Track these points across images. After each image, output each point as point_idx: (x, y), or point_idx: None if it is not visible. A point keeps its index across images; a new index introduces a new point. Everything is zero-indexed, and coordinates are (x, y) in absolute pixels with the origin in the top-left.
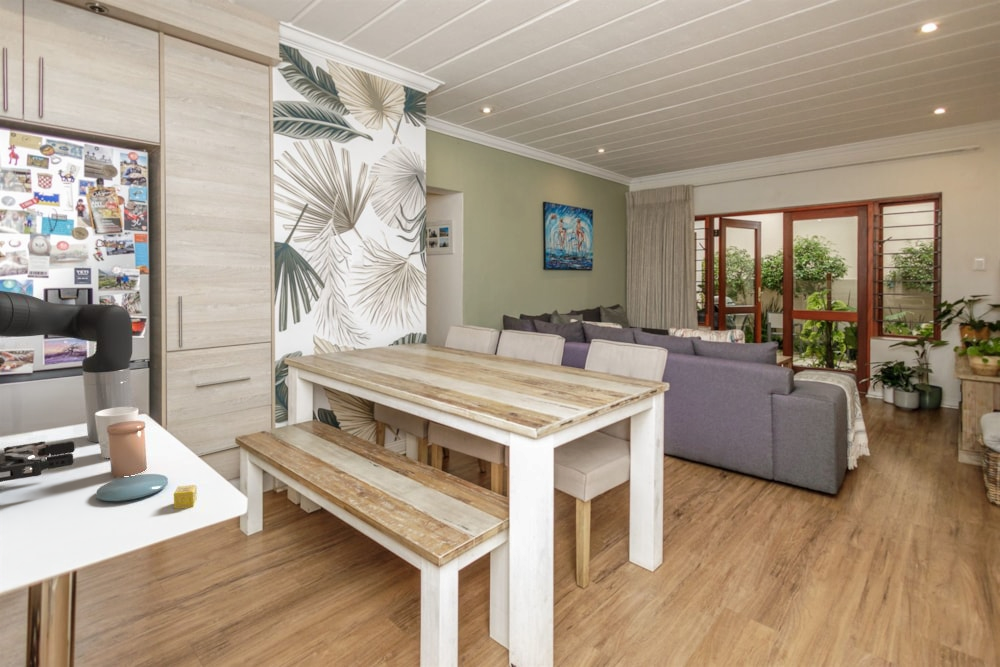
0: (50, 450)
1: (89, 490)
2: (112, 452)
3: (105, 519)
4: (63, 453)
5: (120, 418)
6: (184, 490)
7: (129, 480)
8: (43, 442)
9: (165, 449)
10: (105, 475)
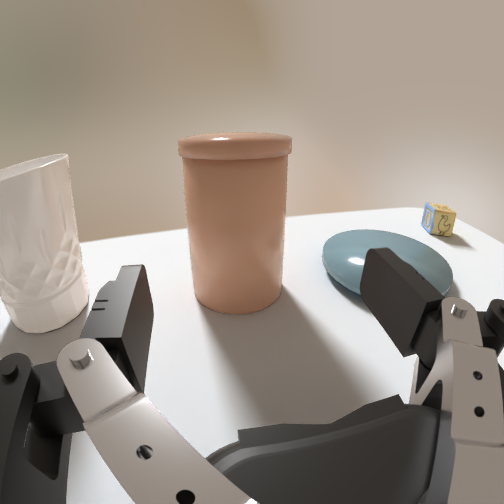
0: (131, 366)
1: (365, 337)
2: (270, 230)
3: (495, 283)
4: (147, 343)
5: (66, 170)
6: (445, 208)
7: (359, 263)
8: (22, 361)
9: (107, 249)
10: (235, 325)
